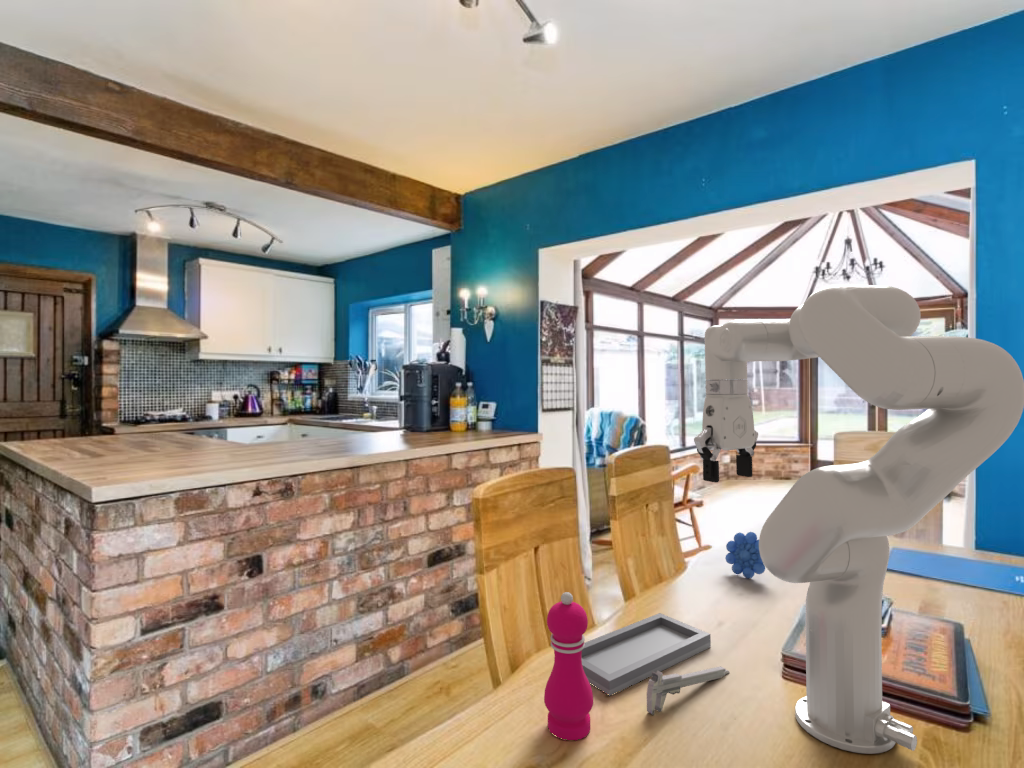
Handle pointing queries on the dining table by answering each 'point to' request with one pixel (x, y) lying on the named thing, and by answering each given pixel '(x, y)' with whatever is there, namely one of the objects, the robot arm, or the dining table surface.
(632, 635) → the tool case
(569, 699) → the pepper mill
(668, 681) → the caliper
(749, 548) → the blue bumpy cluster
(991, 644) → the dining table surface
